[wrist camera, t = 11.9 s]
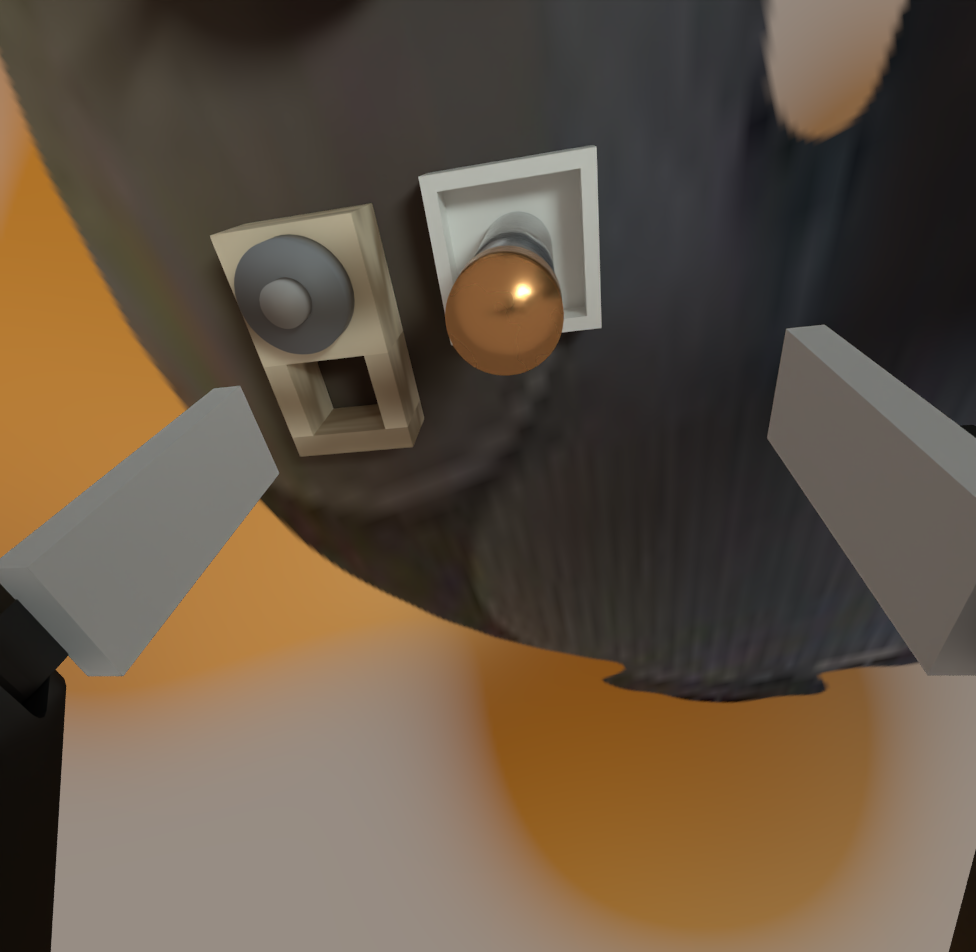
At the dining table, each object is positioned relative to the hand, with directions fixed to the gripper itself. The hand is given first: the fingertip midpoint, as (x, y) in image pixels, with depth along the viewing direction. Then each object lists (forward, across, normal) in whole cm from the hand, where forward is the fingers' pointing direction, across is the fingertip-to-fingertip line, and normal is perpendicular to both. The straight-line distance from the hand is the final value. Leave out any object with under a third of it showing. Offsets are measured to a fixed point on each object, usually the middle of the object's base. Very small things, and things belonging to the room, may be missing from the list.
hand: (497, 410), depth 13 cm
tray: (+21, -1, 0) cm, 21 cm away
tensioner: (+21, -13, -4) cm, 25 cm away
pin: (+20, -1, 0) cm, 21 cm away
